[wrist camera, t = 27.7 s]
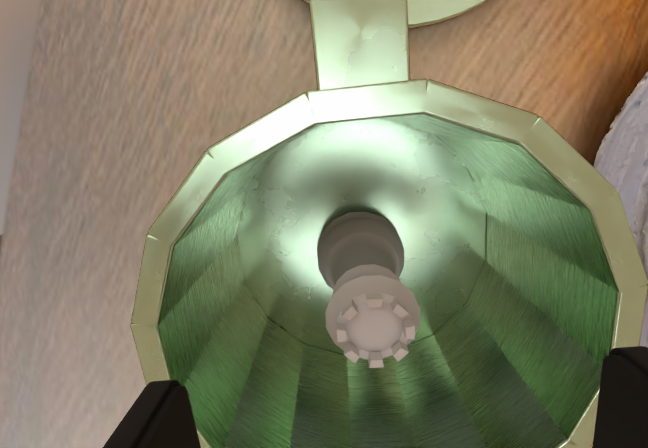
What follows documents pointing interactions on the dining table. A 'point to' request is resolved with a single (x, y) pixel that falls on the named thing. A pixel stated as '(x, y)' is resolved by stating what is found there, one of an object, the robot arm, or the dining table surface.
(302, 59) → the dining table surface
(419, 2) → the lid
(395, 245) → the rook chess piece
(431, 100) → the pot
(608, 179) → the food plate
